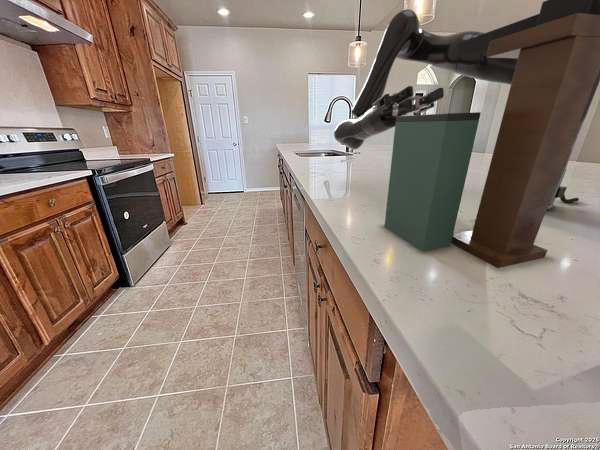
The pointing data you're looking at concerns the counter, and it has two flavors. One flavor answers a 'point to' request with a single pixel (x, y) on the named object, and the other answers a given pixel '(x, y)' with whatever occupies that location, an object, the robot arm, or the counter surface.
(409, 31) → the robot arm
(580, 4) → the pad strip
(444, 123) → the dark green tall block
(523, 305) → the counter surface
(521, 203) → the shelf stand
